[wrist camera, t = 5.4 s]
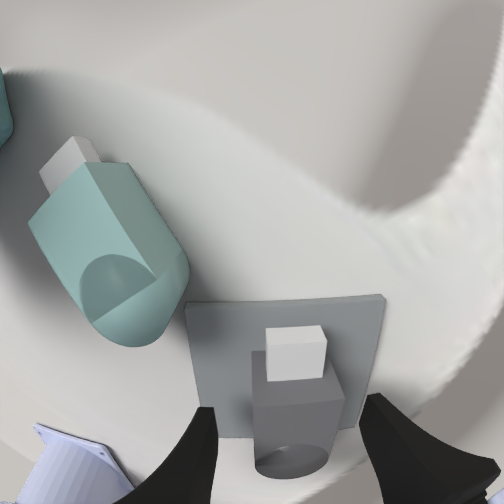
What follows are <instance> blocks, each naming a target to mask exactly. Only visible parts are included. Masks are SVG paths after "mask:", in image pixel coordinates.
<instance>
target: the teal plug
mask: <svg viewBox="0 0 504 504" xmlns="http://www.w3.org/2000/svg"><path fill="white" fill-rule="evenodd" d="M39 174H40V176H41V178H42V180H43V182H44V184H45V186H46V188H47V190H48V192H49V194H50V197H49V198H48V199H47V200H46V201H45V203H44V204H43V205H42V206H41V207H40V208H39V209H38V211H37V212H36V213H35V214H34V215H33V217H32V218H31V219H30V220H29V221H28V223H27V224H28V226H29V228H30V230H31V231H32V233H33V235H34V237H35V239H36V241H37V243H38V244H39V246H40V248H41V250H42V251H43V253H44V255H45V257H46V258H47V260H48V262H49V263H50V265H51V267H52V268H53V270H54V271H55V273H56V275H57V276H58V278H59V279H60V281H61V282H62V284H63V285H64V287H65V288H66V290H67V291H68V293H69V294H70V296H71V297H72V299H73V300H74V302H75V303H76V304H77V306H78V307H79V309H80V310H81V311H82V313H83V314H84V315H85V317H86V318H87V319H88V321H89V322H90V323H91V325H92V326H93V327H94V328H95V329H96V330H97V331H98V332H99V333H100V334H101V335H103V336H104V337H105V338H107V339H108V340H110V341H112V342H114V343H117V344H119V345H123V346H127V347H142V346H146V345H148V344H151V343H153V342H154V341H156V340H157V339H158V338H159V337H160V336H161V335H162V334H163V332H164V330H165V329H166V327H167V325H168V323H169V321H170V318H171V316H172V314H173V312H174V310H175V309H176V307H177V305H178V303H179V301H180V299H181V297H182V295H183V293H184V291H185V289H186V287H187V284H188V282H189V277H190V267H189V262H188V259H187V256H186V254H185V252H184V250H183V249H182V247H181V246H180V244H179V243H178V241H177V240H176V238H175V237H174V235H173V234H172V232H171V231H170V229H169V228H168V226H167V225H166V223H165V222H164V220H163V219H162V217H161V215H160V214H159V212H158V211H157V209H156V208H155V206H154V205H153V203H152V201H151V200H150V198H149V197H148V195H147V193H146V192H145V190H144V189H143V187H142V185H141V184H140V182H139V181H138V179H137V177H136V176H135V174H134V172H133V171H132V169H131V167H130V166H129V164H128V163H108V162H101V160H100V158H99V157H98V155H97V153H96V151H95V149H94V148H93V146H92V144H91V142H90V140H89V138H86V137H79V136H72V137H71V138H70V139H69V140H68V141H67V142H66V143H65V144H64V145H63V146H62V147H61V148H60V149H59V150H58V151H57V152H56V153H55V154H54V155H53V156H52V157H51V159H50V160H49V161H48V162H47V163H46V164H45V165H44V166H43V167H42V169H41V170H40V171H39Z"/></svg>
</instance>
